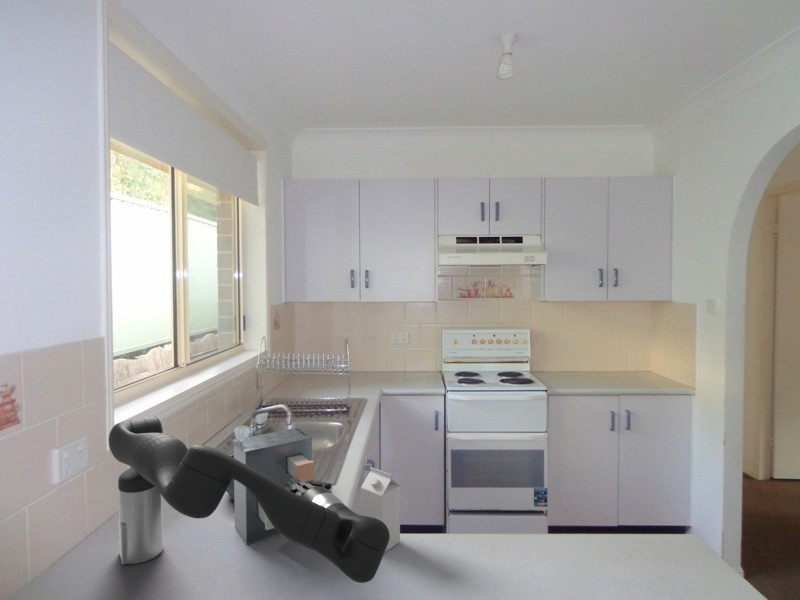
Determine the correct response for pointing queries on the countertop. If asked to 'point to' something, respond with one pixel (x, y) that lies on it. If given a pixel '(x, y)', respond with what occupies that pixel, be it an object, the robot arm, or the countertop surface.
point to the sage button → (264, 517)
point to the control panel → (271, 462)
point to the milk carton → (382, 502)
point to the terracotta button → (300, 467)
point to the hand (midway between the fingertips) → (291, 482)
